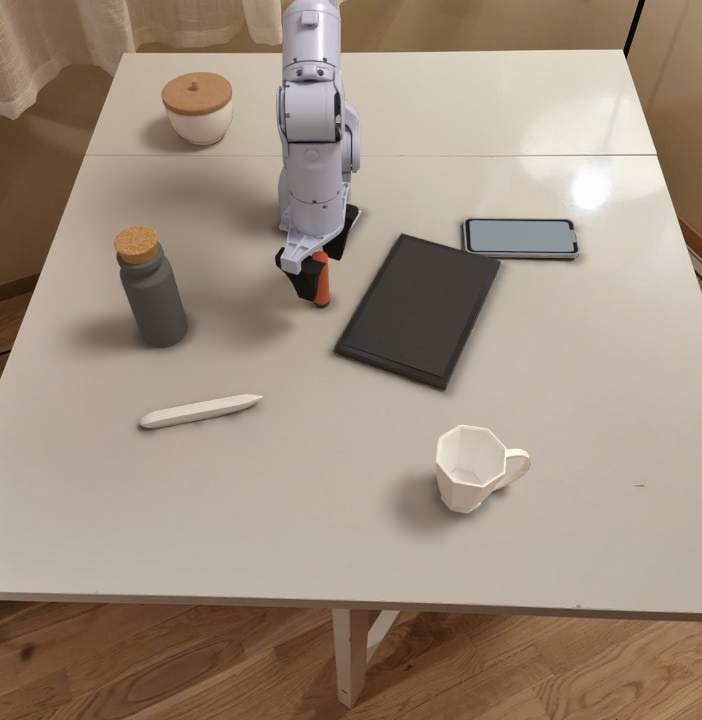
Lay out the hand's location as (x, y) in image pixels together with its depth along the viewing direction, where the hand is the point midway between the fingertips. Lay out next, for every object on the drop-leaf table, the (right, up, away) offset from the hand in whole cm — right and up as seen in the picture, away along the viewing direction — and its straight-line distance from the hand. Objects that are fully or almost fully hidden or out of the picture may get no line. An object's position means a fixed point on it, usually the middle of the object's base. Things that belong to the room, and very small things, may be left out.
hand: (320, 277), depth 87 cm
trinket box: (-19, +26, +27) cm, 42 cm away
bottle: (-19, -7, +1) cm, 21 cm away
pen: (-13, -17, -7) cm, 22 cm away
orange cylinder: (0, -3, +4) cm, 5 cm away
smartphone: (+27, +6, +10) cm, 29 cm away
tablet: (+13, -4, +3) cm, 13 cm away
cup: (+16, -24, -13) cm, 32 cm away
